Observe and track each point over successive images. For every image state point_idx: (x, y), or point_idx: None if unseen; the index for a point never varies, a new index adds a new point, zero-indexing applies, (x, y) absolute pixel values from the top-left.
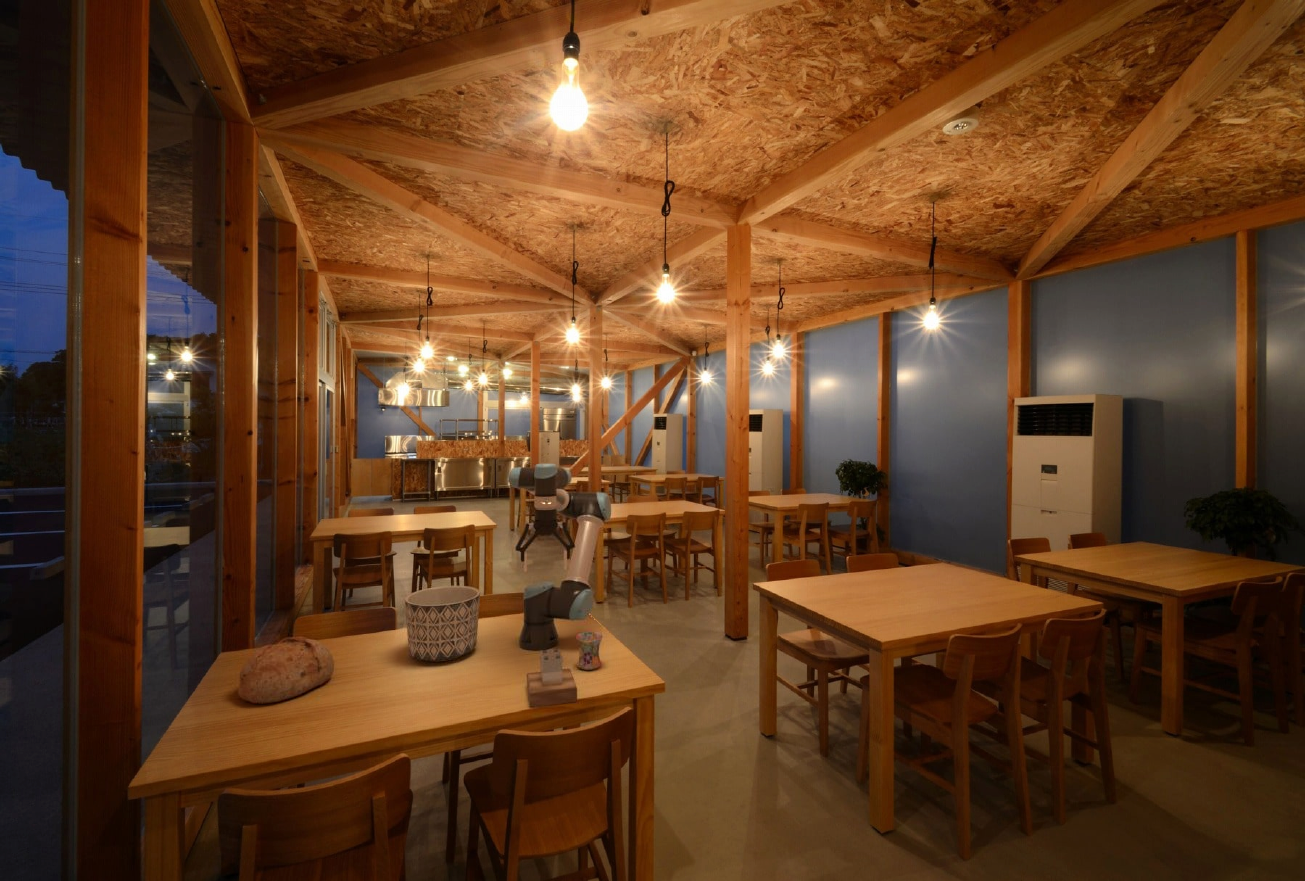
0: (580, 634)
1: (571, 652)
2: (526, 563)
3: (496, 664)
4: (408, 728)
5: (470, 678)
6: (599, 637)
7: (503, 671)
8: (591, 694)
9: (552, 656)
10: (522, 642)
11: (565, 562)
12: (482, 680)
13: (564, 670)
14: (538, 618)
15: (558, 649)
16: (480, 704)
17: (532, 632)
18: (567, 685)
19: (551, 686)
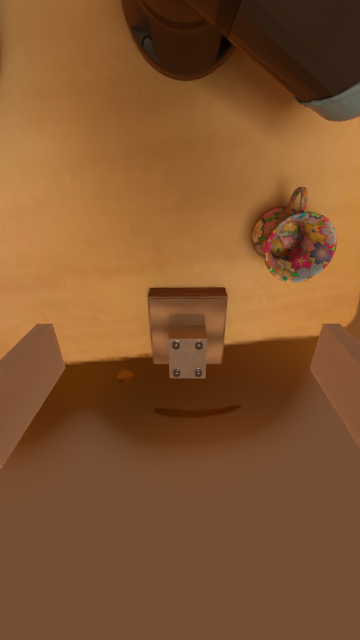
0: (285, 223)
1: (264, 128)
2: (36, 409)
3: (80, 161)
4: None
5: (42, 227)
6: (327, 243)
7: (102, 209)
8: (245, 339)
9: (188, 367)
10: (132, 34)
11: (338, 403)
12: (68, 243)
13: (215, 304)
14: (179, 13)
15: (204, 341)
16: (85, 327)
17: (160, 37)
18: (209, 356)
19: None
